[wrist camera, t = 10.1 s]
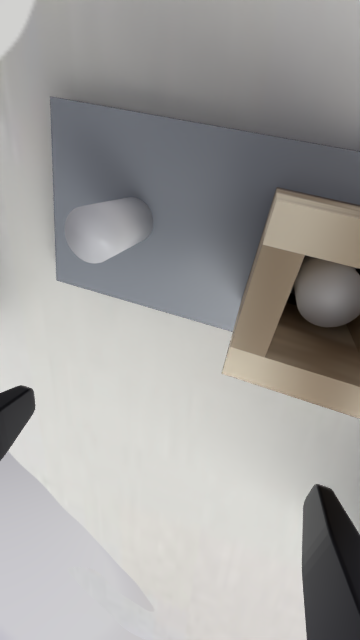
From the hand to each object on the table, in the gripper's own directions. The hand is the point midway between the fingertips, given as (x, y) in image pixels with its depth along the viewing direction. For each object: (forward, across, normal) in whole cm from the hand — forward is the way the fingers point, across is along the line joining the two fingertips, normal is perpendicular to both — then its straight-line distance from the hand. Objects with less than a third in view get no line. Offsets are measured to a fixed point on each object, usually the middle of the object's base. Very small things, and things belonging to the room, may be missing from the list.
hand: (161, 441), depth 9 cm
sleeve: (+10, -4, -4) cm, 11 cm away
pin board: (+11, 0, -4) cm, 12 cm away
